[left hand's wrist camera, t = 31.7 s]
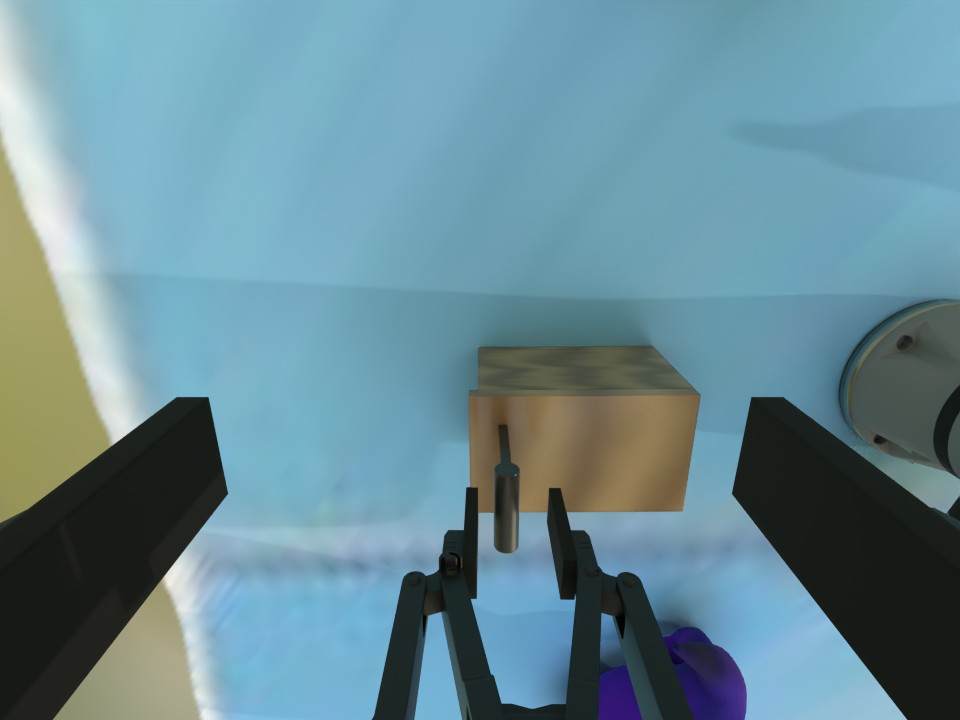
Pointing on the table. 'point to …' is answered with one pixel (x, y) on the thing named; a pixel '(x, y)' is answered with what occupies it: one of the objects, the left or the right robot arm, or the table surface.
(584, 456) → the lid
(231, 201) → the table surface
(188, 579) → the table surface
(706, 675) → the toy
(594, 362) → the chest
